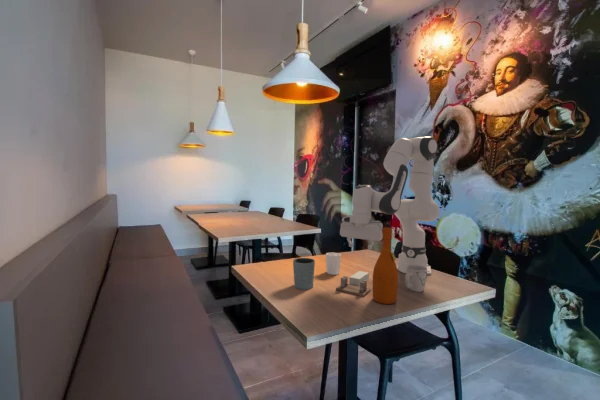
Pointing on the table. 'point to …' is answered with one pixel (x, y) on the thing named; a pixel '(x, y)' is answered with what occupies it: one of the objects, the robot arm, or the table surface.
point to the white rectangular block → (358, 278)
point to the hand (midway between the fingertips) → (360, 248)
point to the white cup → (333, 263)
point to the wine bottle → (385, 273)
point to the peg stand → (353, 287)
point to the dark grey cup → (303, 273)
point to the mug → (416, 277)
